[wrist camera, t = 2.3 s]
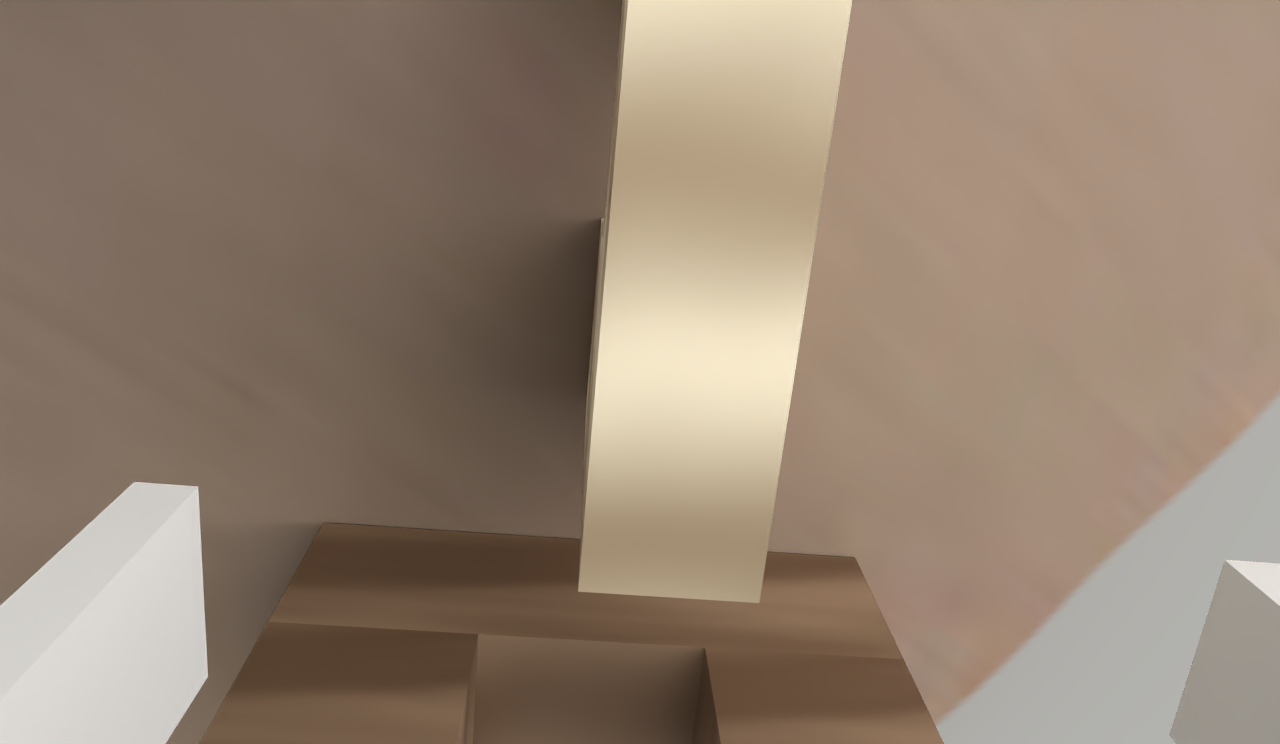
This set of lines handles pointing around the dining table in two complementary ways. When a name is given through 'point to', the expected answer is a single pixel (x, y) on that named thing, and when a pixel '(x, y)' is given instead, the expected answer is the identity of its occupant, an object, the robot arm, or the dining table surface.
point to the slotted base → (561, 653)
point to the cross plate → (703, 288)
